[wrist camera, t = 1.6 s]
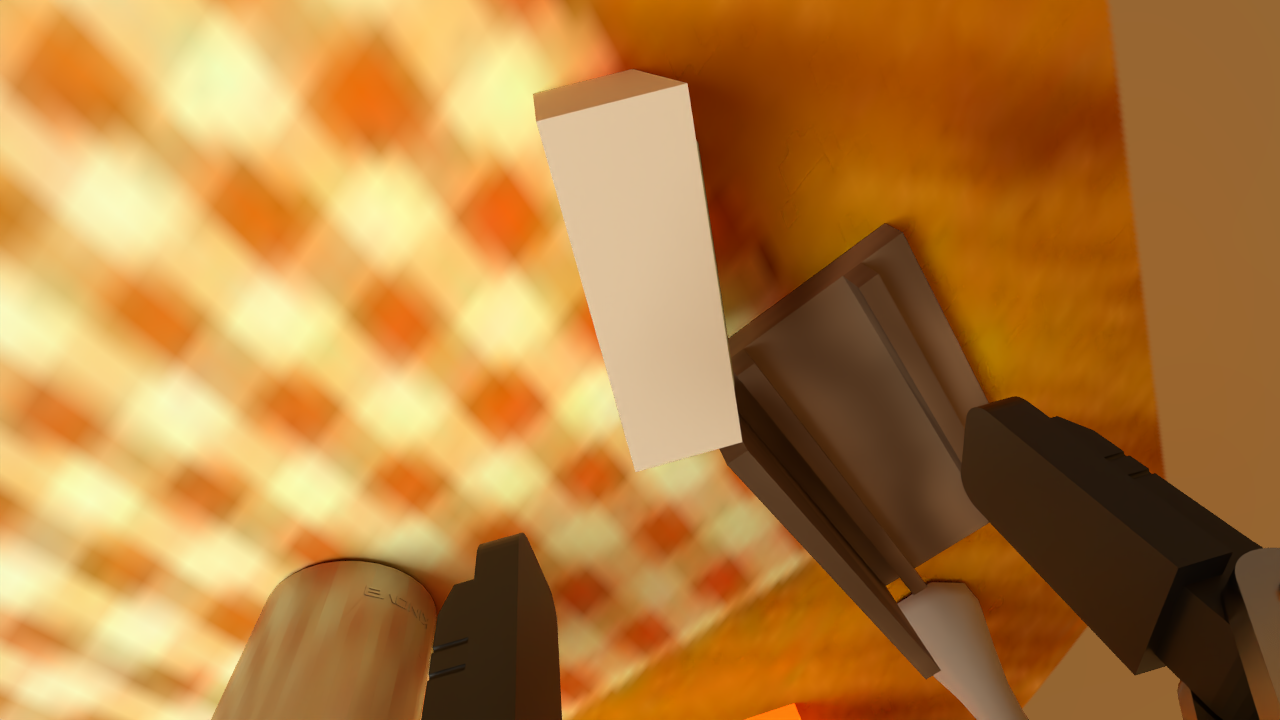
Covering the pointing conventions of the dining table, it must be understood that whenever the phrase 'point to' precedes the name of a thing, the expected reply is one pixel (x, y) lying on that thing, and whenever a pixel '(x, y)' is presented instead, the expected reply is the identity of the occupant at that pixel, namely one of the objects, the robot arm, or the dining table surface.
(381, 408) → the dining table surface
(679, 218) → the white rectangular block
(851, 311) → the picture ledge
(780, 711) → the orange juice
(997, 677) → the flask
